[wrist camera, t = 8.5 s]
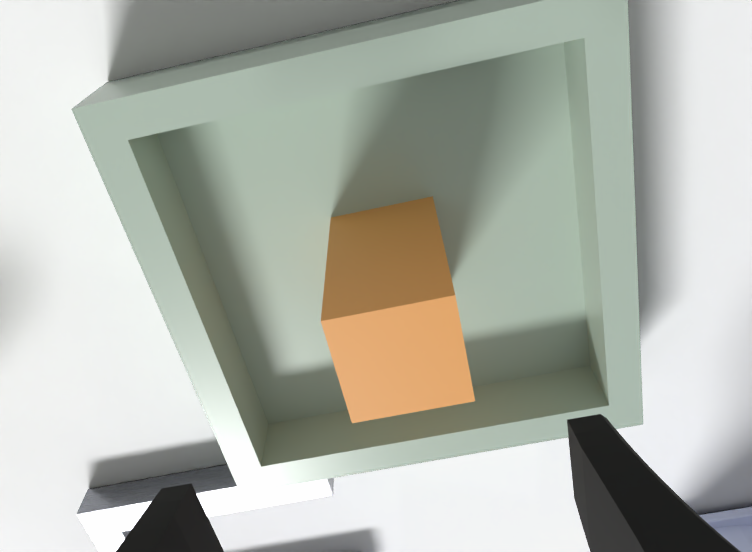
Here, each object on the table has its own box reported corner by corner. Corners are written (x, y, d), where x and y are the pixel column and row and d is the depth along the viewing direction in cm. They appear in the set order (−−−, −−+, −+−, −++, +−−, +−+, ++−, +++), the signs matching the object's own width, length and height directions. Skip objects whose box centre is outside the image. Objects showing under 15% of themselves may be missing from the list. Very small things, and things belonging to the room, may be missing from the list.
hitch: (326, 447, 25) (324, 471, 24) (367, 571, 28) (368, 597, 27) (88, 489, 26) (76, 514, 25) (156, 605, 29) (148, 631, 28)
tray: (592, -31, 17) (627, -20, 15) (616, 373, 24) (643, 424, 21) (107, 82, 19) (71, 109, 16) (251, 438, 25) (240, 493, 23)
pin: (432, 196, 20) (455, 294, 15) (449, 285, 21) (475, 401, 16) (330, 217, 20) (320, 321, 15) (354, 303, 21) (351, 423, 17)
